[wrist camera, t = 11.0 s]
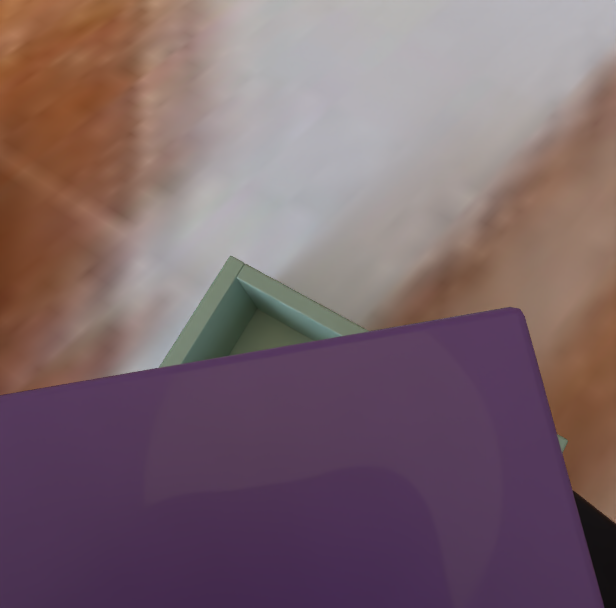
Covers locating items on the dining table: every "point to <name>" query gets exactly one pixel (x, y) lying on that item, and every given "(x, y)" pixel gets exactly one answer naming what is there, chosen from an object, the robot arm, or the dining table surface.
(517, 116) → the dining table surface
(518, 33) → the dining table surface
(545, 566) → the purple tall block
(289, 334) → the bin
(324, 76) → the dining table surface
